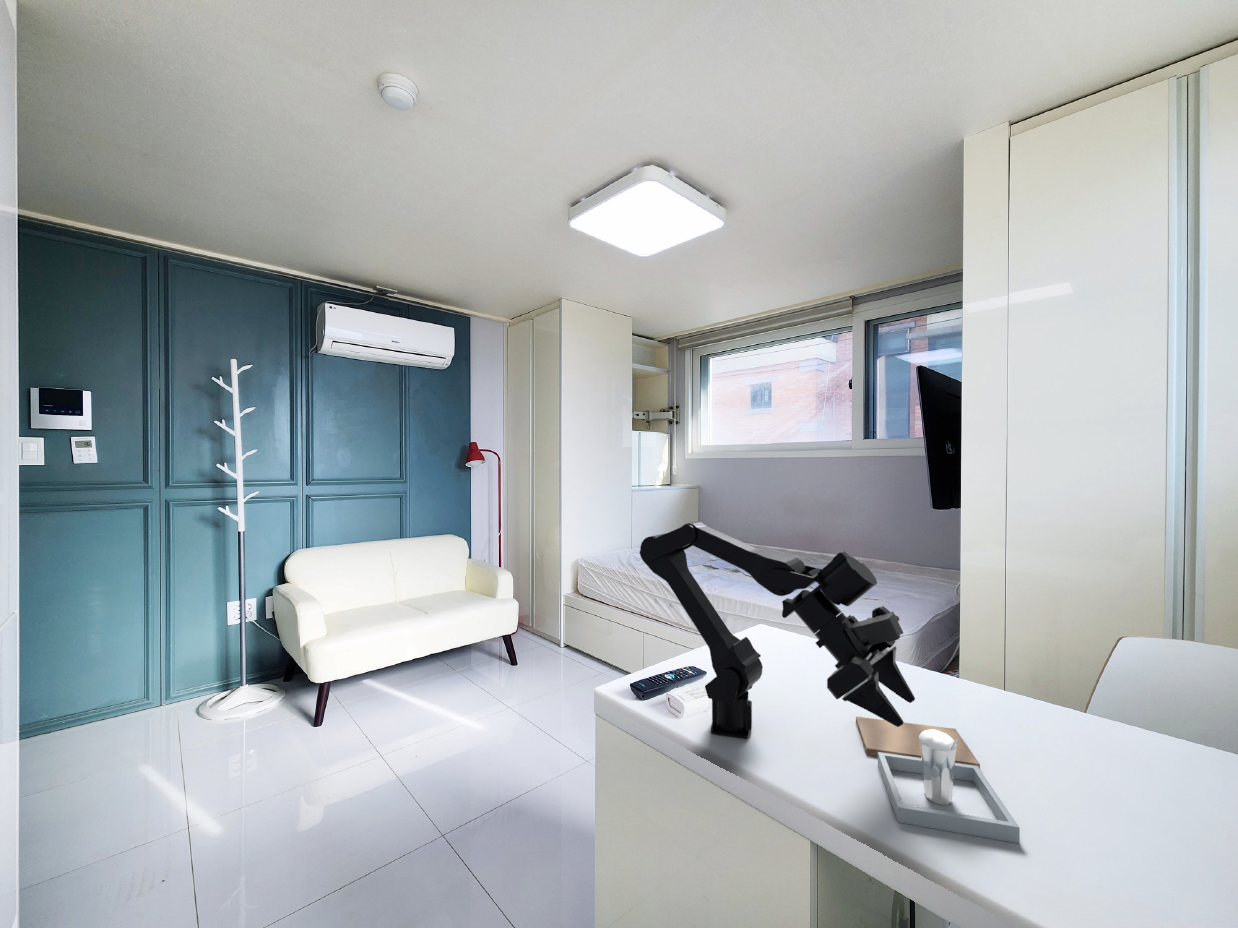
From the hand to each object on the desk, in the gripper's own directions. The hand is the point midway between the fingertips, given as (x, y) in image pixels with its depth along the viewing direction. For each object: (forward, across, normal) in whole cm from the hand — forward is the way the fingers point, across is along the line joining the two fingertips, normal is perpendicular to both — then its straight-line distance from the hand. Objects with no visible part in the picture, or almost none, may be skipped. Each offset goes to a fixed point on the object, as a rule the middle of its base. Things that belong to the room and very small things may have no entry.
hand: (907, 712), depth 75 cm
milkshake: (+11, 0, +5) cm, 12 cm away
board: (+7, +14, +9) cm, 18 cm away
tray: (+11, 0, +5) cm, 12 cm away
